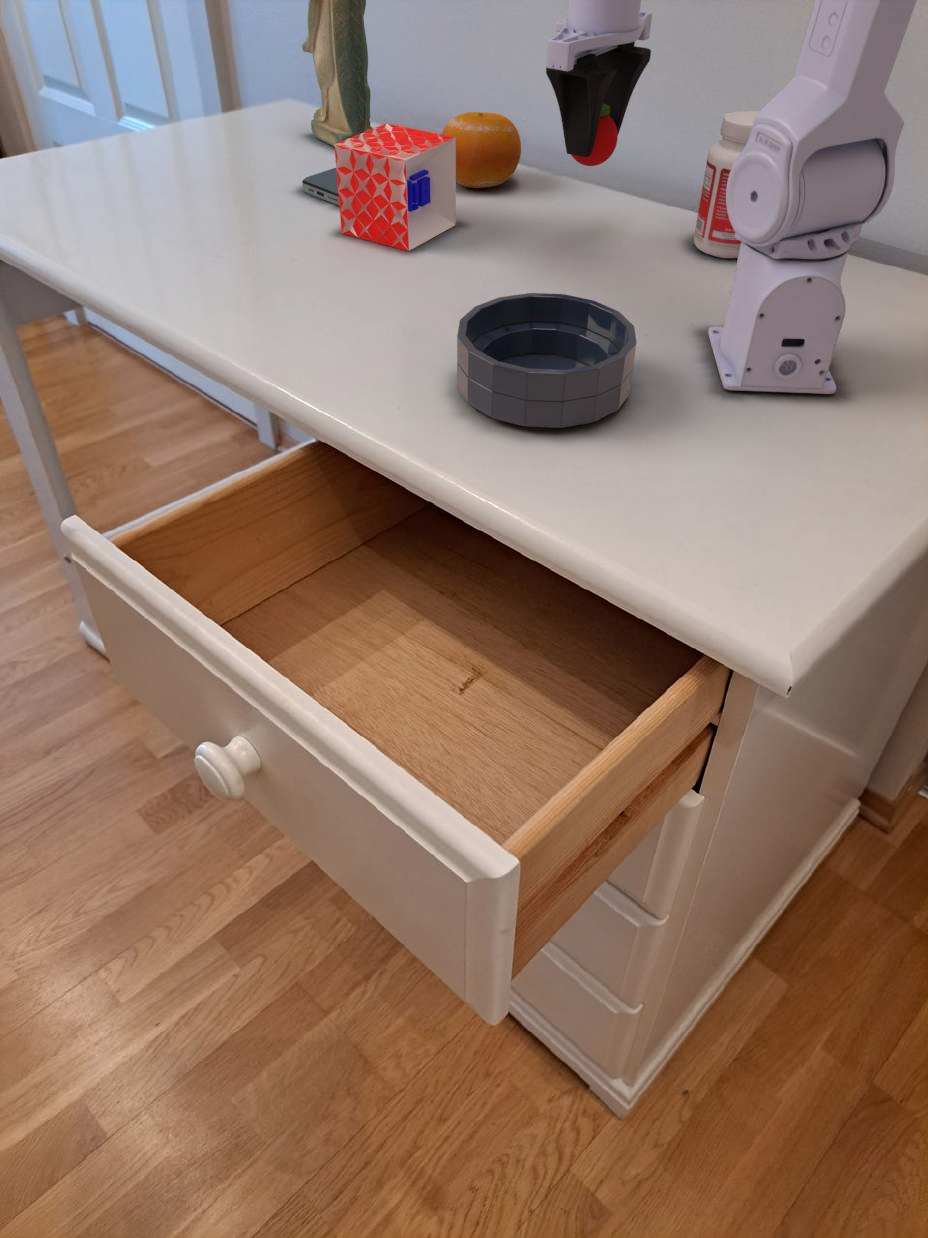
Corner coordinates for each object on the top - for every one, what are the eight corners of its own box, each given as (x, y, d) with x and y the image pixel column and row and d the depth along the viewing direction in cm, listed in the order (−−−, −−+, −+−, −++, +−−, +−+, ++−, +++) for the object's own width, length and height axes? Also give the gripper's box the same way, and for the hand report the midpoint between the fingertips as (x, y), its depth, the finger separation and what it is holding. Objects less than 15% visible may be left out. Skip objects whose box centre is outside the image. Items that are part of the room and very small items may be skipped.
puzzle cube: (390, 208, 93) (386, 122, 88) (455, 224, 90) (455, 136, 85) (341, 233, 88) (333, 144, 83) (408, 251, 85) (405, 159, 80)
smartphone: (296, 178, 96) (403, 142, 104) (299, 195, 97) (404, 158, 105) (342, 196, 92) (450, 158, 100) (344, 213, 93) (451, 174, 101)
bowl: (632, 437, 62) (642, 376, 59) (451, 430, 62) (451, 369, 59) (622, 352, 71) (629, 295, 68) (464, 346, 71) (464, 290, 68)
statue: (346, 126, 114) (327, -134, 97) (387, 142, 110) (375, -128, 92) (299, 137, 111) (271, -131, 94) (340, 153, 106) (319, -125, 89)
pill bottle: (773, 251, 86) (804, 120, 78) (726, 265, 83) (753, 131, 76) (725, 230, 89) (750, 103, 82) (678, 243, 87) (699, 113, 79)
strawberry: (615, 173, 80) (622, 113, 77) (565, 172, 81) (569, 112, 78) (613, 157, 84) (619, 100, 81) (564, 156, 84) (569, 98, 81)
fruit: (530, 134, 100) (498, 71, 94) (535, 189, 96) (501, 127, 90) (461, 167, 104) (426, 109, 97) (463, 221, 100) (426, 164, 94)
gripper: (606, -56, 78) (590, 120, 87) (516, -34, 69) (509, 160, 78) (683, -49, 75) (658, 133, 84) (600, -25, 66) (582, 175, 76)
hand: (591, 147), depth 81 cm, fingers closed on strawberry, 4 cm apart
